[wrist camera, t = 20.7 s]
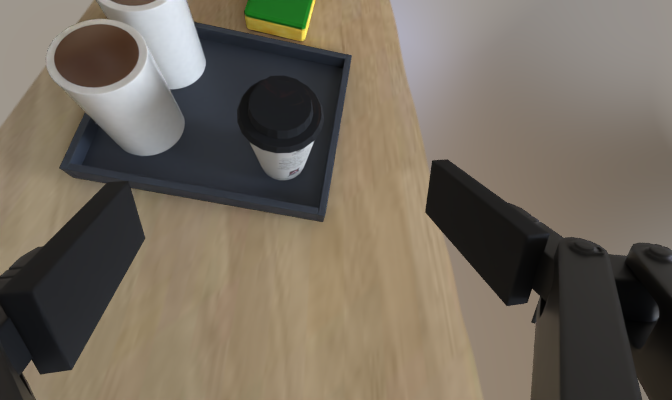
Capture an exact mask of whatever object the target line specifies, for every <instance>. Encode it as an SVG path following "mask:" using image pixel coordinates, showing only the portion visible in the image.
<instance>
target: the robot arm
mask: <svg viewBox="0 0 672 400" xmlns="http://www.w3.org/2000/svg"><path fill="white" fill-rule="evenodd" d="M425 212H426V214H427V215H428V216H429V217H430V218H431V219H432V221H433V222H434V223H435V224H436V225H437V226H438V227H439V229H440V230H441V231H442V232H443V233H444V234H445V235H446V237H447V238H448V239H449V240H450V241H451V242H452V244H453V245H454V246H455V247H456V248H457V249H458V250H459V251H460V253H461V254H462V255H463V256H464V257H465V258H466V260H467V261H468V262H469V263H470V264H471V265H472V267H473V268H474V269H475V270H476V271H477V272H478V273H479V274H480V276H481V277H482V278H483V279H484V280H485V281H486V283H487V284H488V285H489V286H490V287H491V288H492V290H493V291H494V292H495V293H496V294H497V295H498V296H499V298H500V299H501V300H502V301H503V302H504V303H505V304H506V306H510V305H517V304H524V303H527V302H528V299H529V296H530V293H531V290H532V289H533V290H534V291H535V292H536V293H538V294H539V295H540V299H539V301H538V304H537V307H536V310H535V313H534V316H533V319H532V323H536V329H535V344H534V359H533V373H532V387H531V400H642V397H641V392H640V388H639V383H638V380H639V382H640V384H641V385H642V387H643V389H644V391H645V392H646V394H647V396H648V398H649V400H672V250H670V249H669V248H667V247H662V246H661V245H657V244H650V243H636V244H633V246H632V247H631V249H630V251H629V254H628V255H627V256H621V255H611V254H608V253H607V251H606V250H605V249H604V248H602V247H601V246H600V245H597V244H595V243H593V242H591V241H587V240H585V239H581V238H574V237H568V238H563V237H562V236H560V235H559V234H557V233H556V232H555V231H553V230H552V229H550V228H549V227H548V226H546V225H545V224H543V223H542V222H539V220H538V219H536V218H535V217H533V216H531V215H530V214H529V213H528V212H526V211H525V210H523V209H522V208H520V207H517V206H515V205H513V204H510V203H507V202H505V201H504V200H503V199H501V198H500V197H499V196H497V195H496V194H494V193H493V192H491V191H490V190H489V189H487V188H486V187H485V186H483V185H482V184H480V183H479V182H478V181H476V180H475V179H474V178H472V177H471V176H470V175H468V174H467V173H465V172H464V171H463V170H461V169H460V168H458V167H457V166H456V165H454V164H453V163H452V162H450V161H449V160H434V161H432V166H431V174H430V181H429V189H428V196H427V204H426V211H425ZM144 240H145V236H144V232H143V229H142V226H141V222H140V219H139V215H138V212H137V208H136V205H135V202H134V198H133V195H132V191H131V188H130V184H129V181H118V182H107V183H106V184H105V185H104V186H103V187H102V188H101V189H100V190H99V191H98V192H97V193H96V194H95V195H94V196H93V197H92V198H91V199H90V200H89V201H88V202H87V203H86V204H85V205H84V206H83V207H82V208H81V209H80V210H79V211H78V212H77V213H76V214H75V215H74V216H73V217H72V218H71V219H70V220H69V221H68V222H67V223H66V224H65V225H64V226H63V227H62V228H61V229H60V230H59V231H58V232H57V233H56V234H55V235H54V236H53V237H52V238H51V239H50V240H49V241H48V242H47V243H46V244H45V245H44V246H43V247H37V248H35V249H34V250H32V251H30V252H28V253H27V254H25V255H23V256H22V257H20V258H19V259H18V260H17V261H16V262H15V263H14V264H13V265H12V266H11V267H10V268H9V270H6V271H5V272H4V273H3V274H2V275H1V276H0V400H36V399H35V397H34V395H33V393H32V391H31V388H30V386H29V384H28V382H27V380H26V379H25V377H24V375H23V374H22V372H23V371H24V369H25V368H26V366H27V365H28V363H29V362H30V361H31V359H32V361H33V363H34V365H35V366H36V368H37V370H38V372H39V373H40V374H46V373H53V372H60V371H67V370H72V368H73V367H74V365H75V363H76V361H77V360H78V358H79V356H80V354H81V352H82V351H83V349H84V347H85V345H86V343H87V342H88V340H89V338H90V336H91V334H92V333H93V331H94V329H95V327H96V325H97V324H98V322H99V320H100V318H101V317H102V315H103V313H104V311H105V309H106V308H107V306H108V304H109V302H110V300H111V299H112V297H113V295H114V293H115V291H116V290H117V288H118V286H119V284H120V283H121V281H122V279H123V277H124V275H125V274H126V272H127V270H128V268H129V266H130V265H131V263H132V261H133V259H134V257H135V256H136V254H137V252H138V250H139V249H140V247H141V245H142V243H143V241H144ZM637 378H638V379H637Z"/></svg>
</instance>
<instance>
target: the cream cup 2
mask: <svg viewBox="0 0 672 400" xmlns="http://www.w3.org/2000/svg"><path fill="white" fill-rule="evenodd" d="M96 1H97V3H98V4H99V6H100V8H101V9H102V11H103V13H104V14H105V16H106V18H107V19H110V20H116V21H119V22H122V23H125V24H127V25H129V26H131V27H132V28H134V29H135V30H136V31H138V32H139V33H140V34H141V36H142V37H143V38H144V40H145V42H146V44H147V46H148V48H149V49H150V51H151V53H152V55H153V57H154V59H155V61H156V63H157V65H158V67H159V69H160V71H161V72H162V74H163V76H164V78H165V80H166V82H167V84H168V86H169V88H170V89H180V88H183V87H186V86H189V85H191V84H193V83H194V82H195V81H197V80H198V79H199V78H200V76H201V75H202V74H203V72H204V70H205V66H206V58H205V54H204V51H203V48H202V45H201V42H200V39H199V36H198V33H197V30H196V27H195V23H194V20H193V17H192V14H191V11H190V8H189V5H188V2H187V0H96Z"/></svg>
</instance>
